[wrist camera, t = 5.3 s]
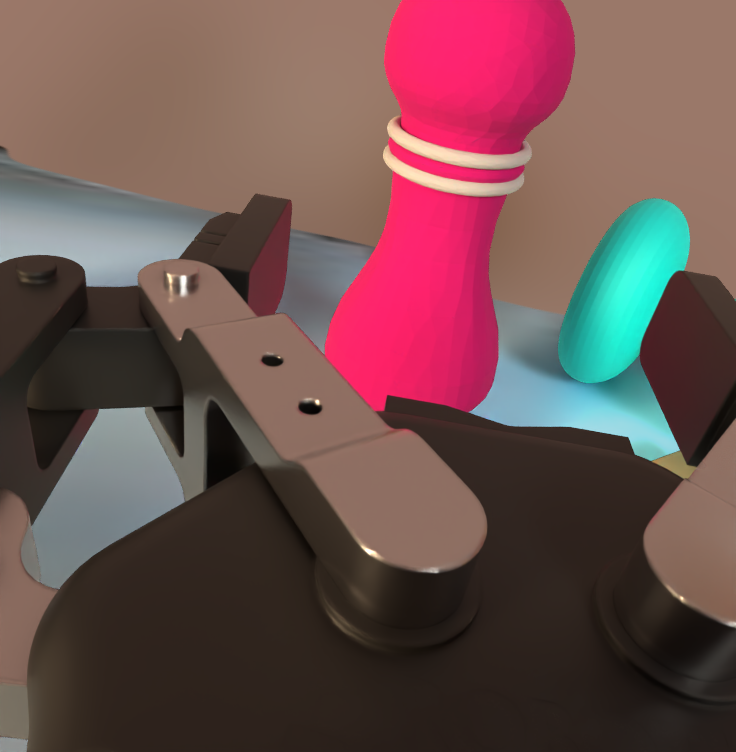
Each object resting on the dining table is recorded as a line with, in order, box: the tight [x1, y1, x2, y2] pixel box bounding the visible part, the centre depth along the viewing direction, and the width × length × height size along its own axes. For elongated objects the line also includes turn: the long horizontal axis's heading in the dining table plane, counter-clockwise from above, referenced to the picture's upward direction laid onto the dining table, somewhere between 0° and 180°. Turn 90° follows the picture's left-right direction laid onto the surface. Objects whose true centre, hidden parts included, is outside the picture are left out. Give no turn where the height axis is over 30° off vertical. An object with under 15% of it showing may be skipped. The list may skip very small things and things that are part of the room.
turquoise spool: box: [558, 198, 736, 383], centre depth 33 cm, size 10×10×10 cm
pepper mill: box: [325, 0, 575, 412], centre depth 25 cm, size 7×7×20 cm
